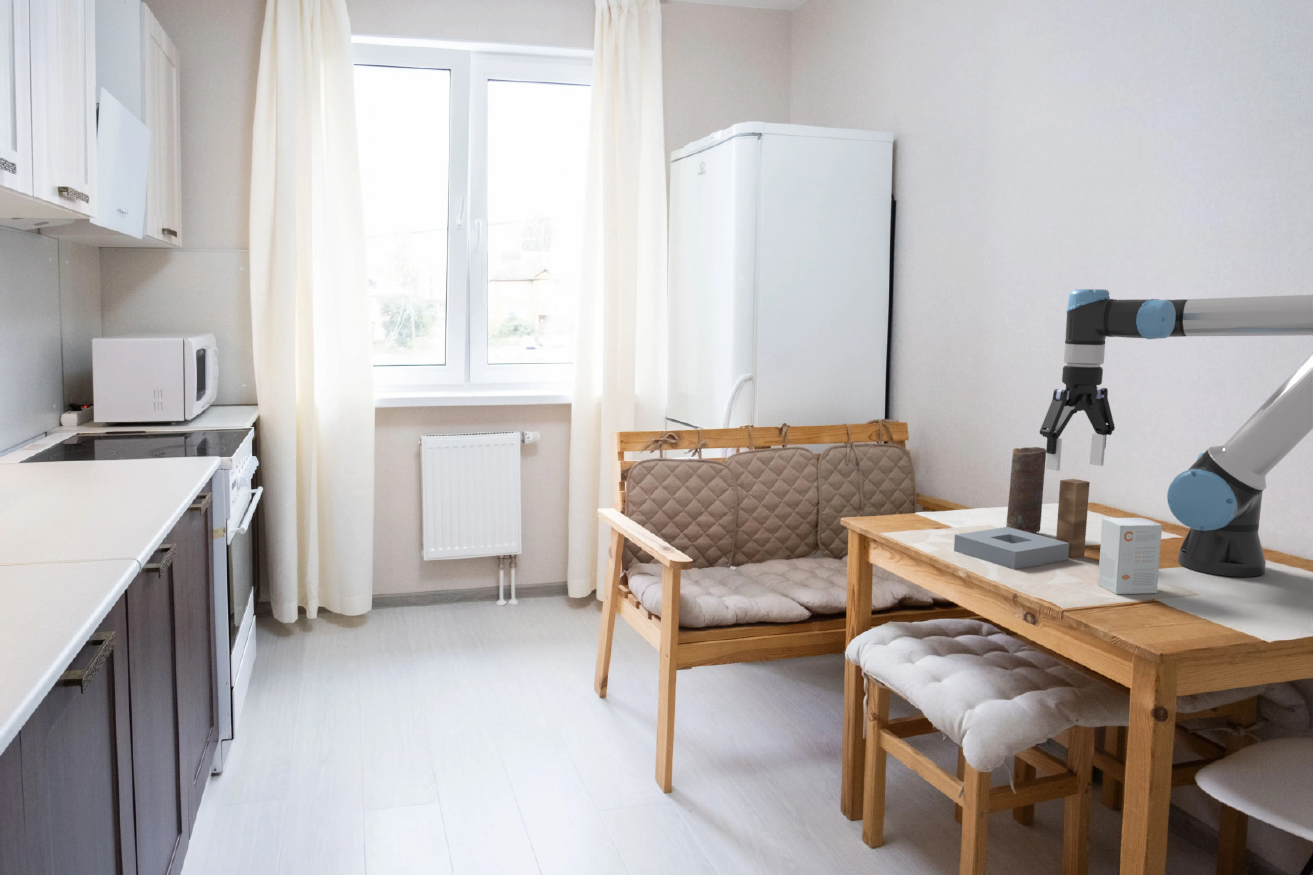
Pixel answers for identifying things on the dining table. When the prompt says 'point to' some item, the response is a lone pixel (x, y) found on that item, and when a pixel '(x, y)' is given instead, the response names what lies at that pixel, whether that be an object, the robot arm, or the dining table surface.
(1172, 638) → the dining table surface
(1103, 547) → the small box
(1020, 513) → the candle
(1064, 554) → the socket
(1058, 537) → the peg
